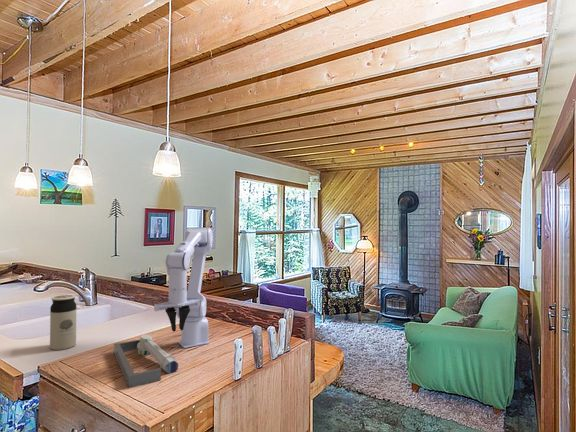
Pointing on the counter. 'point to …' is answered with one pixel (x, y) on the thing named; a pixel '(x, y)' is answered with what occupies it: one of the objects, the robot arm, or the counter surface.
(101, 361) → the counter surface
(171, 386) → the counter surface
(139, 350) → the white handheld device
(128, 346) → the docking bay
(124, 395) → the counter surface
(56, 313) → the travel mug
